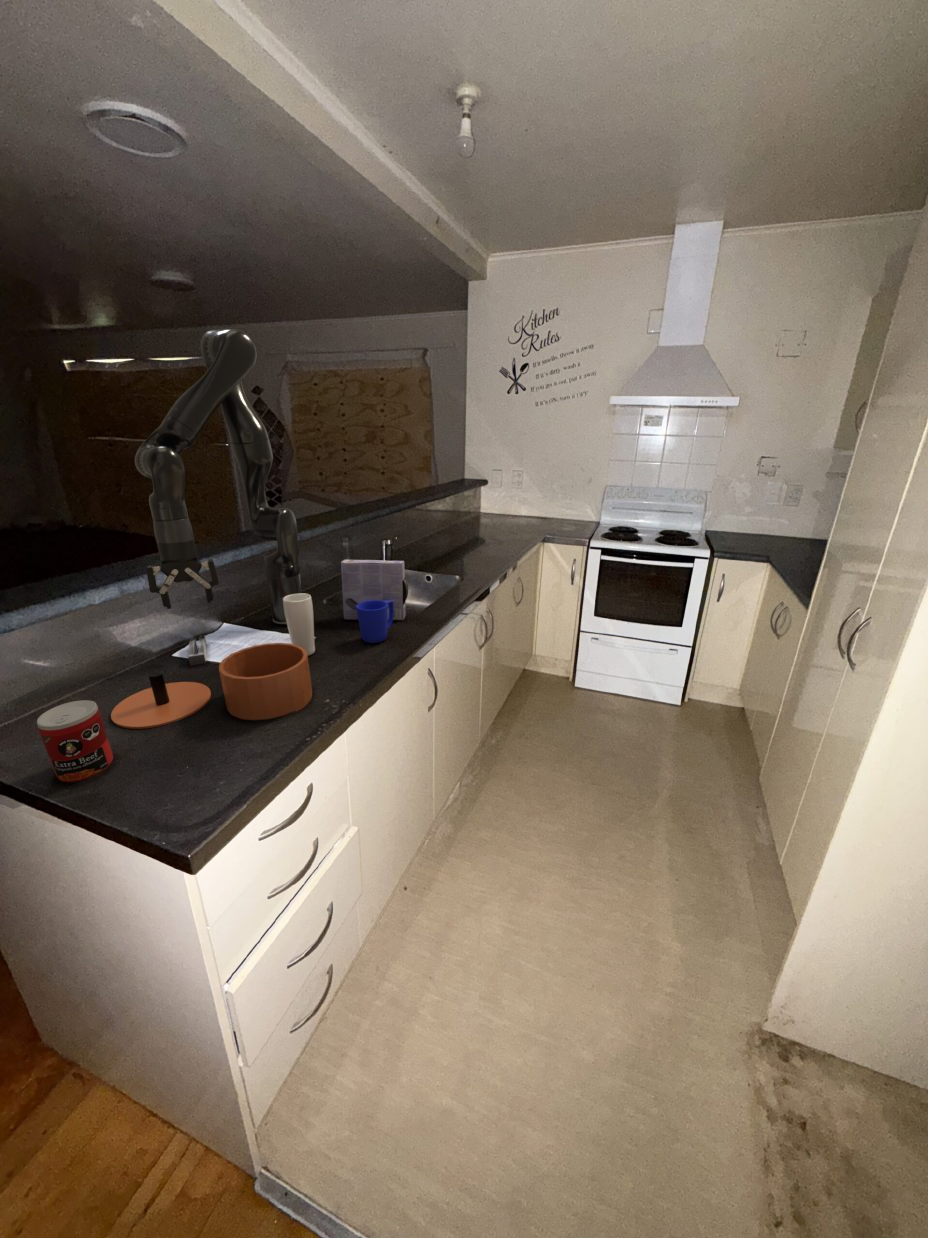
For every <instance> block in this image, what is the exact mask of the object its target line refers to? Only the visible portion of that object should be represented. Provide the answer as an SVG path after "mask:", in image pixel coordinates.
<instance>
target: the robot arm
mask: <svg viewBox="0 0 928 1238" xmlns="http://www.w3.org/2000/svg"><path fill="white" fill-rule="evenodd" d="M200 351H201V357H202V359H203V362H204V365H205V368H206V372H205V373H204V374H203V375H202V376H201V377H200V378H199V379H198V380H197V381H196V382H195V383H194V384H192V385H191V386H190V387H189V388H188V389H187V390H185V391H184V392H183V393H182V394H181V395H180V396H179V397H178V398H177V399H176V400H175V402H174V403H173V404H172V406H171V407H170V409H169V410H168V412H167V414H166V415H165V417H164V418H163V420H162V421H161V423H160V424H159V426H158V427H157V428H156V429H155V430H154V431H152V433H150V435H149V436H148V437H147V438H146V439H145V440H144V441H143V442H142V443H141V445H140V446H139V448H138V449H137V450H136V453H135V456H134V465H135V468H136V470H137V471H138V473H139V474H141V475H142V476H143V477H146V478H147V479H151V481H152V493H150V494H149V496H148V504H149V509H150V514H151V518H152V523H153V533H154V539H155V542H156V545H157V546H156V547H157V549H158V555H159V558H160V565H152V564H149V565H147V566H146V577H147V582H148V588H149V589H148V590H149V592H150V593H152V594H154V593H156V594H159V595H160V598H161V602H162V606H163V607H164V608H166V609H167V610H171V609H172V603H171V599H170V595H169V591H168V589H169V588H170V587H171V585H172V584H173V582H175V583H177V584H180V583H183V582H192V581H194V580H195V581H196V582H198V583H199V584H200V585H202V586H203V587H204V592H205V596H206V601H207V604H208V605H209V604H212V602H213V601H214V593H213V587H215V586H218V585H219V581H220V580H219V577H218V573H217V568H216V566H215V562H214V560H213V559H212V558H209V559H208V560H204V561H201V560H200V559H199V556H198V551H197V546H196V542H195V541H196V540H195V537H194V536H195V534H194V530H193V527H192V523H191V521H190V518H189V512H188V507H187V502H186V499H185V495H186V468H185V464H184V461H183V459H182V457H181V456H180V454H181V453H182V452H183V451H184V450H187V449H189V448H191V447H192V446H193V445H194V444H195V443H196V441H197V439H198V438H199V437H200V435H201V434H202V432H203V431H204V429H205V427H206V426H207V424H208V422H209V421H210V419H211V418H212V417H213V415H214V413H215V412H216V411H217V409H218V408H219V407H220V409H221V412H222V417H223V419H224V423H225V426H226V430H227V433H228V437H229V441H230V445H231V448H232V451H233V454H234V455H233V456H234V458H235V461H236V465H237V468H238V471H239V475H240V479H241V483H242V486H243V490H244V495H245V499H246V500H245V501H246V506H247V511H248V512H247V513H248V518H249V522H250V527H251V529H252V532H253V534H254V536H255V537H256V538H257V539H259V540H261V541H269V542H276V543H277V547H276V550H274V551H270V552H268V553H266V554H265V555H263V564H264V570H265V578H266V583H267V587H268V589H267V591H268V596H269V601H270V608H271V615H272V623H273V624H274V625H277V626H287V622H286V618H285V613H284V607H283V598H284V597H285V596H288V595H291V594H297V593H303V586H302V578H301V572H300V564H299V563H300V562H299V552H300V548H299V547H300V546H299V536H298V535H299V533H298V522H297V519H296V516H295V514H294V512H293V510H292V509H291V508H288V507H277V506H269V503H268V500H267V495H266V485H267V481H268V478H269V475H270V473H271V470H272V466H273V462H274V452H273V449H272V444H271V440H270V436H269V433H268V430H267V427H266V426H265V424H264V422H263V420H262V419H261V418H260V415H259V414H258V413H257V412H256V410H255V409H254V407H253V406H252V404H251V402H250V401H249V399H248V397H247V394H246V392H245V389H244V386H243V382H242V381H243V379H245V377H247V375H249V373H250V372H251V371H252V370H253V368H254V367H255V365H256V362H257V356H258V354H257V348H256V344H255V342H254V341H253V339H252V338H251V336H250V335H248V334H247V333H246V332H244V331H242V330H240V329H237V328H236V329H235V328H223V329H222V328H221V329H211V330H208V331H206V332H205V333H204V334H203V335H202V337H201V340H200ZM202 567H203V568H204V569H205V570H206V571H209V573H210V577H211V580H208V579H207V578H206V577H205V576H204V575H203V574H201V573H200V571H201V569H202ZM159 572H161V573H163V574H164V575H165V576H166V578H165V580H164V582H163V583H162V585H161V586H158V585H157V580H156V577H157V576H158V575H159Z"/></svg>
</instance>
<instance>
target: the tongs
mask: <svg viewBox="0 0 928 1238" xmlns="http://www.w3.org/2000/svg"><path fill="white" fill-rule="evenodd" d="M188 641H189V643H188V653H187V658H188V663H189V666H190V667H192V666H193V667H194V666H198V665H204V664H207V654H208V653H207V651H208V650H207V649H208V644H207V639H206V635H205V634H203V635H199V636H198V643H197V638H196V636H191V637H189V640H188Z"/></svg>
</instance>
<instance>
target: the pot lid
mask: <svg viewBox="0 0 928 1238" xmlns="http://www.w3.org/2000/svg"><path fill="white" fill-rule="evenodd" d="M148 679H149V684H150V687H148V688H145V689H142V690H140V691H138V692H135V693H133V694H132V695H129V696H128V697H126V698H124V699H123V700H121V701H119V703H117V705H115V706H114V708H113V709H112V710H111V713H110V719H111V721H112V723H113V724H114V725H116V727H119V728H123V729H128V730H145V729H152V728H158V727H163V726H166V725H170V724H173V723H176V722H179V721H181V720H183V719H186V718H188V717H191V716H192V715H194V714H196V713H197V712H199V711H200V710H202V709H203V708H204V707H205V706H206V705H207V704H208V703H209V701H210V700H211V698H212V692H211V689H210V688H209V687H208V686H207V685H205V684H203V683H200V682H195V681H177V682H169V683H166V681H165V677H164V674H163V672H162V671H153V672H150V673H149V674H148Z"/></svg>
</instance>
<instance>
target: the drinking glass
mask: <svg viewBox="0 0 928 1238" xmlns="http://www.w3.org/2000/svg"><path fill="white" fill-rule="evenodd" d="M283 607H284V613H285V618H286V622H287V625H286V626H287V630H288V634H289V639H290V644H294V645H298V646H301V647H302V648H304V649H305V650H306V652H307V655H308V657H309V656H312V655H313V654H315V652H316V645H315V644H316V643H315V622H314V621H315V620H314V619H315V618H314V605H313V599H312V596H311V594H309V593H304V592H302V593H297V594H291V595H288V596H285V597H284V598H283Z"/></svg>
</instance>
